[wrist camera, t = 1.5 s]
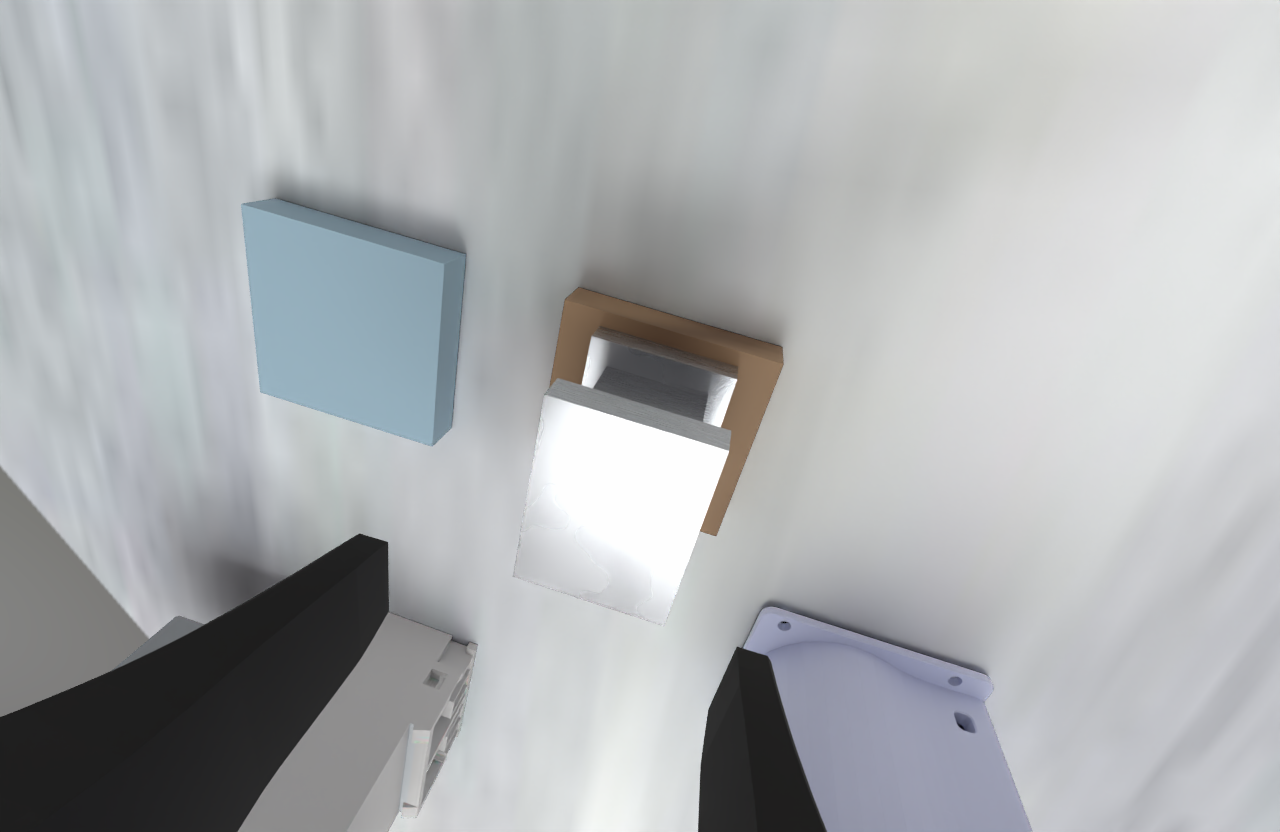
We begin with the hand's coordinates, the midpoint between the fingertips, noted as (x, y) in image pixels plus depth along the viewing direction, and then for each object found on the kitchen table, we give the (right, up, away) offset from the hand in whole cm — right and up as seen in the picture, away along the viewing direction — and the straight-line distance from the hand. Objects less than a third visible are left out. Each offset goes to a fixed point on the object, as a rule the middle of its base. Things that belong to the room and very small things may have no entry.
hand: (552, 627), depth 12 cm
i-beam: (+2, +4, +8) cm, 9 cm away
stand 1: (-8, +8, +10) cm, 15 cm away
